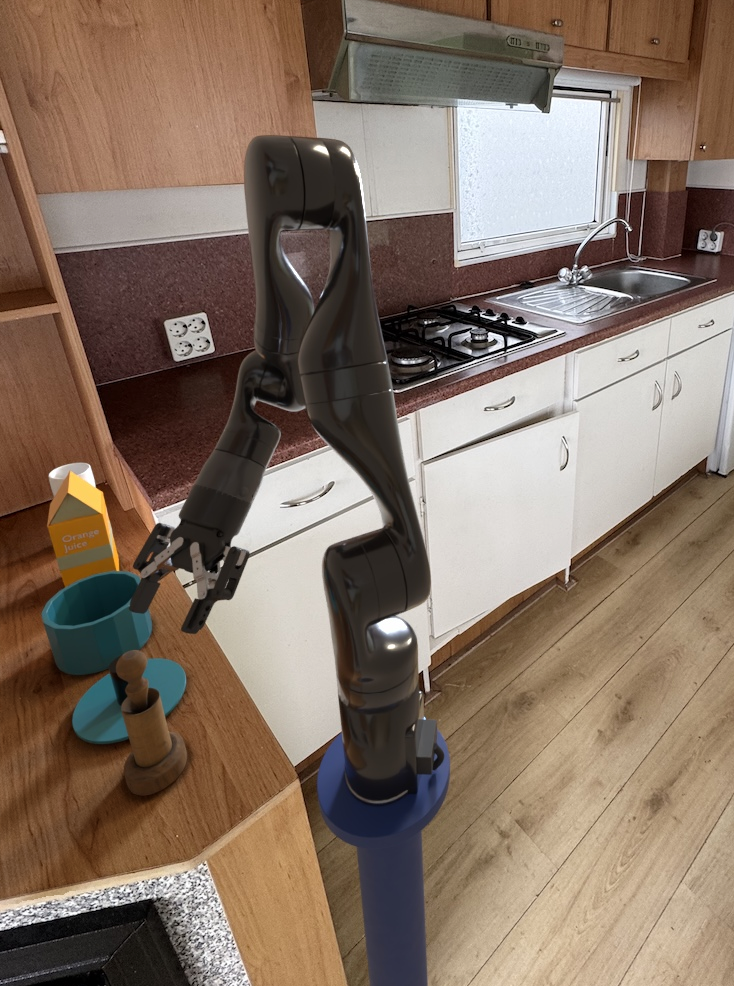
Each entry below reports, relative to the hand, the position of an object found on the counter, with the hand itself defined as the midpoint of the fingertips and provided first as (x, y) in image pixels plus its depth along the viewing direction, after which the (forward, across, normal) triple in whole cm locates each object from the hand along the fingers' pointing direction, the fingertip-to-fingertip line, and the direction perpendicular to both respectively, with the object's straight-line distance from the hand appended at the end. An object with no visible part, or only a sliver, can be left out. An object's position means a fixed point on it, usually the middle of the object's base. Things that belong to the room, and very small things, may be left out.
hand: (161, 622), depth 69 cm
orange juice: (+2, +42, -25) cm, 49 cm away
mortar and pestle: (+17, 0, -10) cm, 20 cm away
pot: (+8, +26, -18) cm, 33 cm away
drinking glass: (-4, +55, -31) cm, 63 cm away
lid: (+12, +12, -14) cm, 22 cm away
